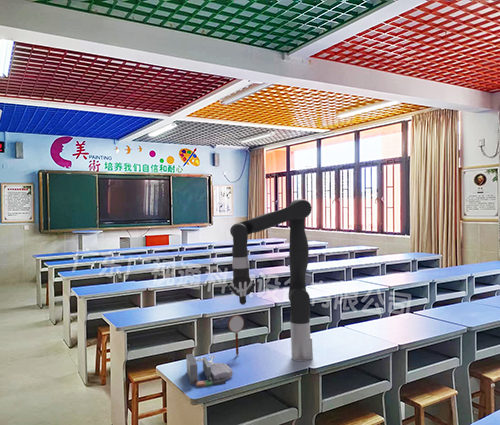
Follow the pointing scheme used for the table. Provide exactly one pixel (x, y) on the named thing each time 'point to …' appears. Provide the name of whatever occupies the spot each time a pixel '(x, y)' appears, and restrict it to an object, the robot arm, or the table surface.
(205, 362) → the thin grey slab
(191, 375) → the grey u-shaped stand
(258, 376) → the table surface
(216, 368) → the stone block
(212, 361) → the scissors
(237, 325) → the magnifying glass
